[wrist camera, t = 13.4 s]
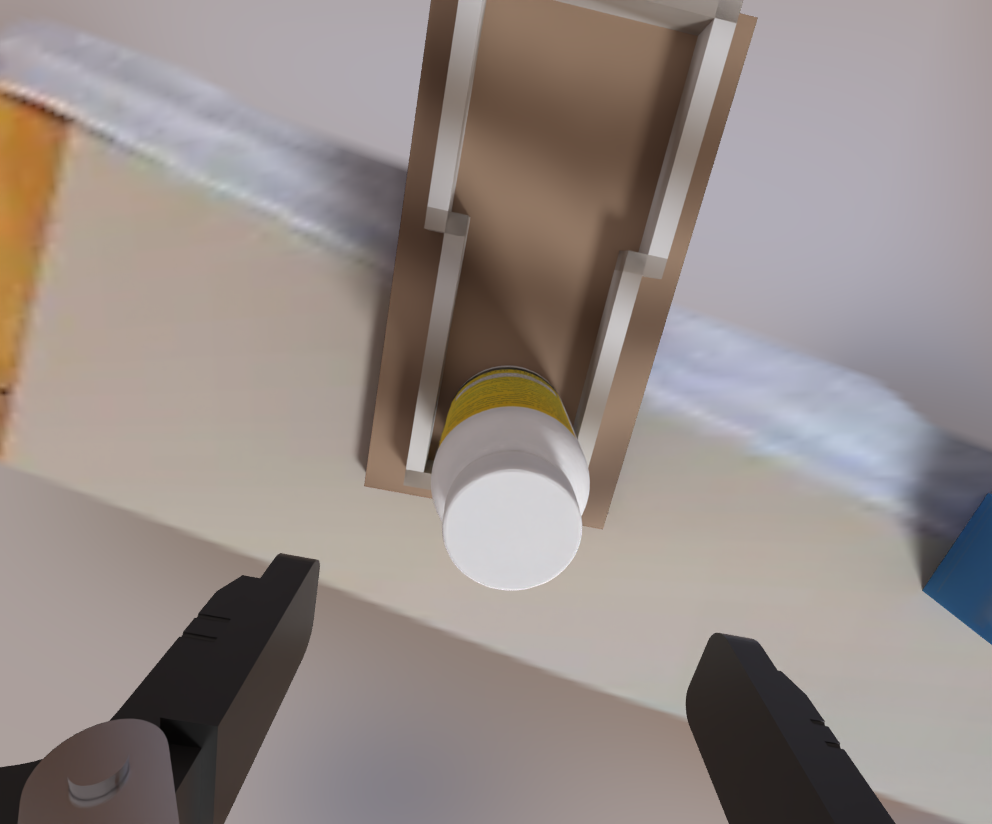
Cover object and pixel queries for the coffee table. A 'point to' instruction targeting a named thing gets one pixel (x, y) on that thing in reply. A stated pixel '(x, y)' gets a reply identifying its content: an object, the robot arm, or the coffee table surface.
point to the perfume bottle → (968, 574)
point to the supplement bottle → (509, 480)
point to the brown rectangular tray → (549, 212)
